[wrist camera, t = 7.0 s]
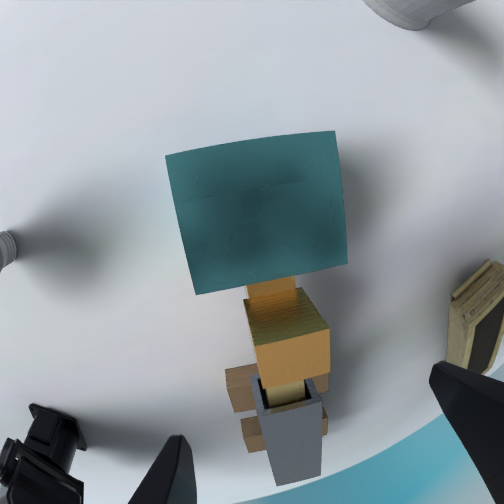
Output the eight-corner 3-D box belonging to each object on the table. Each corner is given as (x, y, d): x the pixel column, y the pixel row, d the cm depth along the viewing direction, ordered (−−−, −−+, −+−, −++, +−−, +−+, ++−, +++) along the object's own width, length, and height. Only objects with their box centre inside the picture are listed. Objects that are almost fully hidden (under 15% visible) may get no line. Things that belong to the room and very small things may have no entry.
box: (484, 245, 21) (519, 269, 17) (473, 354, 32) (491, 374, 28) (430, 294, 22) (465, 327, 17) (434, 388, 33) (451, 410, 28)
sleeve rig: (320, 423, 27) (341, 473, 20) (247, 440, 26) (257, 494, 19) (298, 139, 18) (345, 130, 11) (175, 160, 17) (153, 158, 10)
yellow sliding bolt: (304, 423, 22) (325, 481, 15) (270, 431, 21) (285, 491, 15) (279, 196, 15) (322, 220, 9) (224, 206, 15) (233, 237, 9)
